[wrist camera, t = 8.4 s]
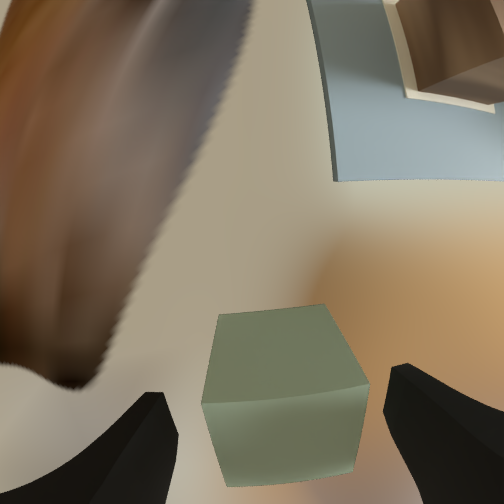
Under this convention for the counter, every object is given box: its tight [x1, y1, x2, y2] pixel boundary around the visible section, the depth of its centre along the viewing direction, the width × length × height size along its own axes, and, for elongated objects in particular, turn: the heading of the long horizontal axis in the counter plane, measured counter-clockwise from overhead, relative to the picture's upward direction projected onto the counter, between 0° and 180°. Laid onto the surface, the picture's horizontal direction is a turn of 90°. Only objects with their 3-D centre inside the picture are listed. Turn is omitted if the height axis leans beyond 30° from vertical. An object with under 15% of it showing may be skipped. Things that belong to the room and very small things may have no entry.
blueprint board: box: [306, 0, 504, 182], centre depth 8 cm, size 11×11×1 cm
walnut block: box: [395, 0, 504, 105], centre depth 6 cm, size 4×4×5 cm
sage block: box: [201, 304, 370, 487], centre depth 9 cm, size 4×4×5 cm
